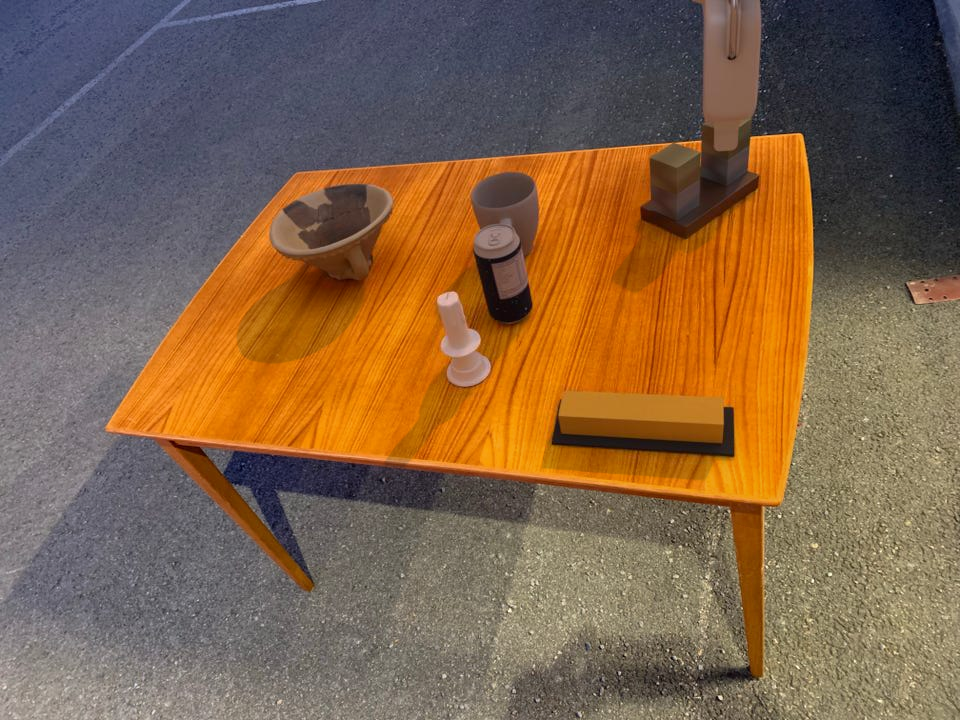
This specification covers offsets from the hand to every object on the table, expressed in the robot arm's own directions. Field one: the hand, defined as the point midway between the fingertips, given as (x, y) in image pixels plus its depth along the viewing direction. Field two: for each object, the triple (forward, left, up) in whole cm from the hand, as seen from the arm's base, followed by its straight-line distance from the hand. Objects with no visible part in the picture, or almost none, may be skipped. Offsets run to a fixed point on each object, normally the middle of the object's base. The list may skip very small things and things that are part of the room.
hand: (724, 118), depth 60 cm
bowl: (+49, +21, -27) cm, 60 cm away
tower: (+19, -20, -27) cm, 39 cm away
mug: (+31, +4, -27) cm, 41 cm away
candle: (+18, +22, -27) cm, 39 cm away
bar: (-3, +15, -27) cm, 30 cm away
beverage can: (+22, +12, -27) cm, 37 cm away
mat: (-3, +14, -27) cm, 31 cm away
